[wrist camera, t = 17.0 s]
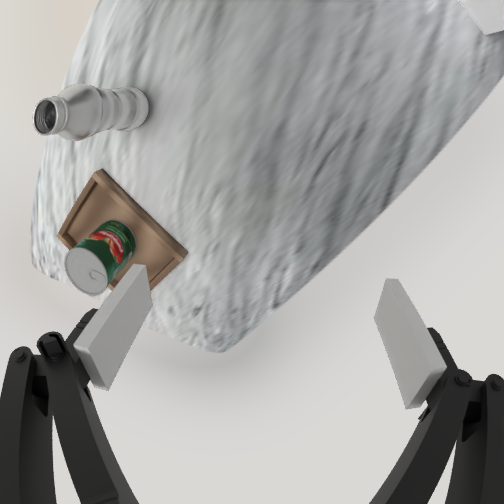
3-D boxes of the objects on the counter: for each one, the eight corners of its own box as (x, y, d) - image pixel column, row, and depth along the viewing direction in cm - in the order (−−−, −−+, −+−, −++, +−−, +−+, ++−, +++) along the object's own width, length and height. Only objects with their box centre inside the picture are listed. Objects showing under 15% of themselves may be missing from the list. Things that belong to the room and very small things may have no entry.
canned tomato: (98, 254, 48) (66, 286, 38) (98, 214, 45) (62, 241, 35) (135, 265, 49) (108, 302, 39) (139, 225, 45) (107, 256, 35)
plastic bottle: (131, 138, 39) (44, 165, 22) (108, 106, 37) (15, 118, 19) (161, 110, 37) (81, 117, 20) (137, 78, 35) (49, 69, 17)
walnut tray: (63, 230, 47) (56, 236, 45) (102, 168, 42) (94, 172, 39) (137, 300, 53) (132, 308, 51) (187, 251, 47) (183, 258, 45)
